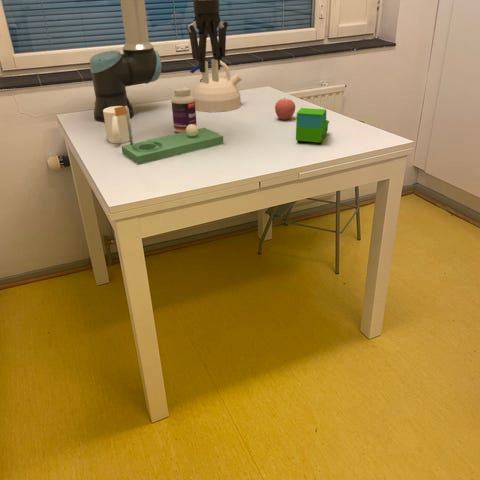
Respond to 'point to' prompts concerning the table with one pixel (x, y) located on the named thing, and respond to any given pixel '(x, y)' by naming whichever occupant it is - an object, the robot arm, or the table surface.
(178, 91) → the pill bottle
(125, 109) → the flag pin
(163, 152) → the putting mat
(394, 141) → the table surface
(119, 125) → the mug
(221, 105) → the kettle
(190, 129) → the ball
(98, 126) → the table surface
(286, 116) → the apple
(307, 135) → the toy car
